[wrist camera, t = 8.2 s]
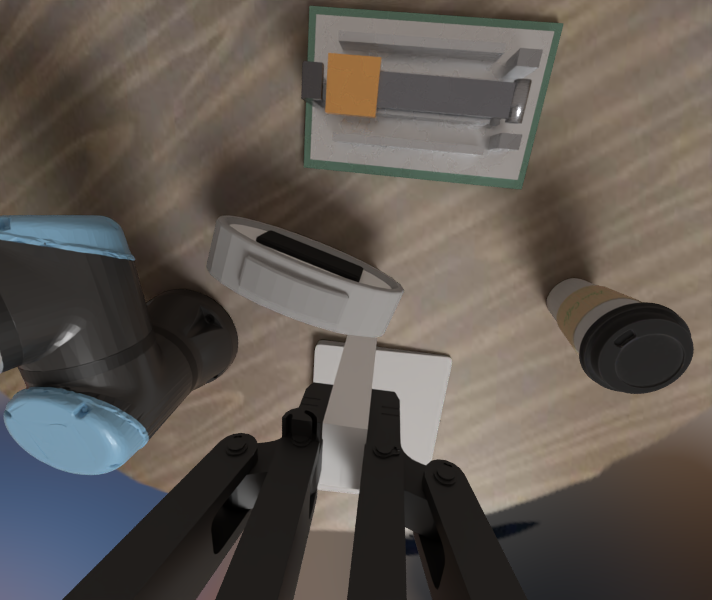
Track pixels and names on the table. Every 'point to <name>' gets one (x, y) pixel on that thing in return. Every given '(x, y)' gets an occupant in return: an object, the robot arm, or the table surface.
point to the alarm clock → (302, 277)
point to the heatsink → (425, 129)
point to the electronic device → (398, 393)
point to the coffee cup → (621, 336)
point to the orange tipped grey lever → (417, 92)
